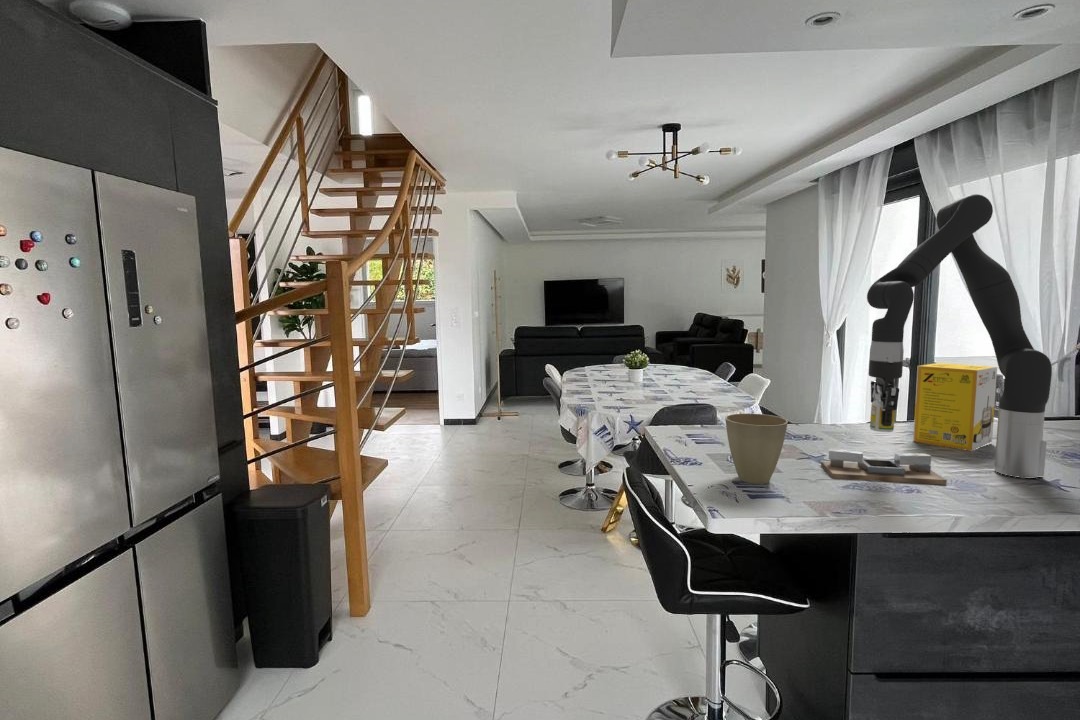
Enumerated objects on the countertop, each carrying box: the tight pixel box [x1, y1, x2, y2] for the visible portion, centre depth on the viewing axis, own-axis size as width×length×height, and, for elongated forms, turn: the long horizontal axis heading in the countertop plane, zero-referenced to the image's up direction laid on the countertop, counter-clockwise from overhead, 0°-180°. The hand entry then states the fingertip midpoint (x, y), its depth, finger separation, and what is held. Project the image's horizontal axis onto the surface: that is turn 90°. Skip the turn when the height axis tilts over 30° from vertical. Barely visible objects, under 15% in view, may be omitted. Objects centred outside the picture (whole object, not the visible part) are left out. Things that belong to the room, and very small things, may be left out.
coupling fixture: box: [828, 448, 932, 476], centre depth 151 cm, size 24×9×4 cm, turn 77°
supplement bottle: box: [869, 393, 896, 433], centre depth 150 cm, size 5×5×10 cm
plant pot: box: [724, 412, 789, 485], centre depth 146 cm, size 15×15×16 cm
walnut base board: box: [820, 461, 948, 486], centre depth 151 cm, size 26×12×1 cm, turn 77°
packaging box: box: [912, 362, 998, 451], centre depth 184 cm, size 16×16×25 cm
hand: (882, 422), depth 150 cm, fingers closed on supplement bottle, 5 cm apart
